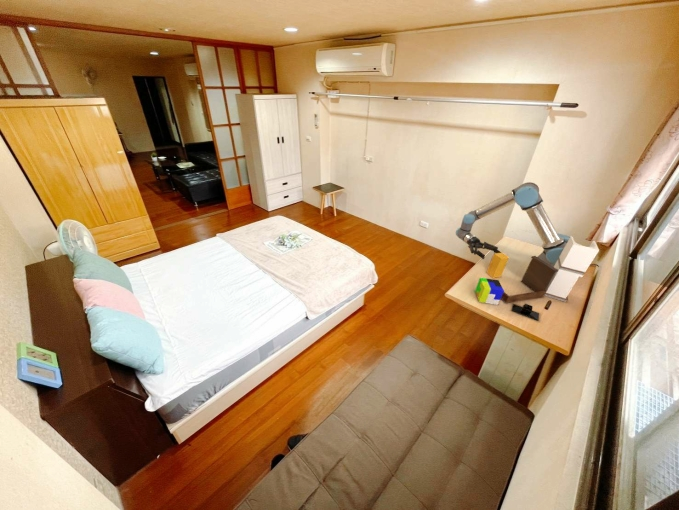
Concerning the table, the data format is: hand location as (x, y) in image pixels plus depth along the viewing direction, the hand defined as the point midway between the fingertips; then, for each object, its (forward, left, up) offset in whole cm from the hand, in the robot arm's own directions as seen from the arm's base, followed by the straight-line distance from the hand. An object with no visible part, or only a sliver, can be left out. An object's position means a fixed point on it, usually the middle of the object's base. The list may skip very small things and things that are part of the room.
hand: (492, 256), depth 172 cm
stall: (0, +24, -11) cm, 26 cm away
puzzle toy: (+21, +25, -11) cm, 34 cm away
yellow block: (0, +6, -11) cm, 12 cm away
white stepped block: (-23, +30, -11) cm, 39 cm away
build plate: (+8, +40, -11) cm, 42 cm away
